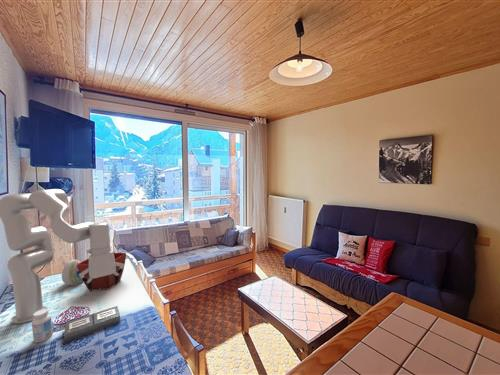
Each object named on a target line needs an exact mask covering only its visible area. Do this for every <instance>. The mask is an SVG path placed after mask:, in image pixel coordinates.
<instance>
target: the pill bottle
mask: <svg viewBox="0 0 500 375" xmlns="http://www.w3.org/2000/svg"><path fill="white" fill-rule="evenodd" d="M33 318H34V319H33V320H32V321H31V327H32V328H31V329H32V336H33V337H32V338H33V341H34V342H35V343H41V342H45V341H47V340H48V339H50V338H51V337H52V336H53V333H54V332H53V321H52V315H51V314H50V313H49V310H48V308H47V309H42V310H39V311H37V312H35V313H34V314H33Z"/></svg>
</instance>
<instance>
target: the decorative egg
mask: <svg viewBox="0 0 500 375" xmlns="http://www.w3.org/2000/svg"><path fill="white" fill-rule="evenodd" d="M81 262H82V261H80V260H79V259H71V260H69V261H67V262H66V264H65V265H64V266H63V268H62V272H61V280H62V283H63V284H64V285H65V286H68V285H72V286H76V285H75V284H77V285H79V284H81V283H83V280H82V279H81V278H80V277H79V274H80V273H79V270H78V267H77V264H79V263H81ZM80 282H81V283H80ZM78 283H79V284H78Z"/></svg>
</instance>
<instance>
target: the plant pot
mask: <svg viewBox="0 0 500 375" xmlns="http://www.w3.org/2000/svg"><path fill="white" fill-rule="evenodd" d="M113 254H114V258H115V262H117V263H122V264H124V267H123V269H122V271H121V272H120V273H119V275H118V282H120V281H121V280H122V275H123V273H124V270H125V269H124V268H125V264H126V258H127V252H113ZM80 262H81V263H79V264H77V267H78V270H79V273H82V272H83V271H85V270H86V269H88V268H89V258H87V259H84V260H83V261H80ZM119 268H120V266H116V271H117V270H118V269H119ZM114 275H115V274H110V275H106V276H102V277H98V278H93V279H92V280H91V281H92V291H93V290H108V289H111V288H112V287H113V286H115V285H116V284H115V280H114ZM84 276H85V277H87V278H88V277H89V272H88V273H86V274H85V275H84ZM82 283H84V285H85V286H86V289H88V283H87V282H85V281H82ZM88 291H90V289H89V290H88Z"/></svg>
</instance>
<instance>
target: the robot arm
mask: <svg viewBox="0 0 500 375" xmlns="http://www.w3.org/2000/svg"><path fill="white" fill-rule="evenodd" d="M67 201H68V194H67V193H66V191H64V190H62V189H59V188H51V189H39V190H35V191H32V192H28V193H27V192H26V193H15V194H10V195H5V196H3V197H2V198H0V220H1V221H2V224H3V228H4V232H5V233H4V234H5V238H6V242H7V246H8V248H9V250H11V251H15V252H18V251H23V250H26V249H29V250H26V251H24V252H20V253H17V254H15V255H13V256H12V257H11V258H9V260H8V262H7V270H8V271H9V275H10V277H11V283H12V290H13V298H14V299H13V300H14V309H15V315H14V316H13V317H12V319H11V323H12V324H19V325H20V324H25V323H28V322H32V321H33V319H34V318H33V314H34V313H35V312H37V311H39V310H42V309H48V307H47V306H45V305H44V304H43V294H42V283H41V277H40V275H39V274H38V273H37V272H36V271H35V270H37V269H38V268H41V267H43V266H46V265H49V264H50V263H51V262H52V261H53V260H54V257H55V254H54V248H53V242H52V237H51V234H50V232H49V230H48V229H47V228H46V227H44V226H40V225H39V226H38V225H37V226H33V227H32V226H31V225H30V221H29V219H28V217H27V216H26V215H25V214H23V213H22V212H27V211H35V210H37V211H39V212H40V213H41V214H43V215H44V216H46V217H47V218H48V219H50V227H51V230H52V232H53V234H54V235H55V236H56V237H58V238H59V239H60V240H62V241H63V242H65V243H67V244H77V243H79V242H82V241H85V240H88V239H89V243H90V244H89V246H90V248H89V249H88V250H86V254H89V255H88V259H89V268H88V269H86V270H85V271H83V272H82V273H80V274H79V277H80V278H81V279H82V280H83V281H85V282H87V283H88V288H87V289H88V291H90V292H93V290H92V281H91V280H92V279H93V278H98V277H102V276H106V275H110V274H115V275H114V280H115V284H114V285H118V282H119V281H118V275H119V273H120V272H121V271H122V269H123V267H124V268H125V265H124V264H122V263H117V262H115V258H114V254H113V253H114V251H113V250H112V249H111V239H110V238H111V237H110V225H109V223H108V222H95V221H85V222H81V223H78V224H74V225H73V224H72V225H71V224H69V223H68V222H67V221H65V218H67V217H68V215H69V214H70V212H71V208H70V206H69V205H68V204H67ZM33 247H34V249H30V248H33ZM116 266H120V268H119V269H118V270H117V271H116ZM88 272H89V277H88V278H87V277H85V276H84V275H85V274H86V273H88ZM83 281H82V282H83ZM89 289H90V290H89Z"/></svg>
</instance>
